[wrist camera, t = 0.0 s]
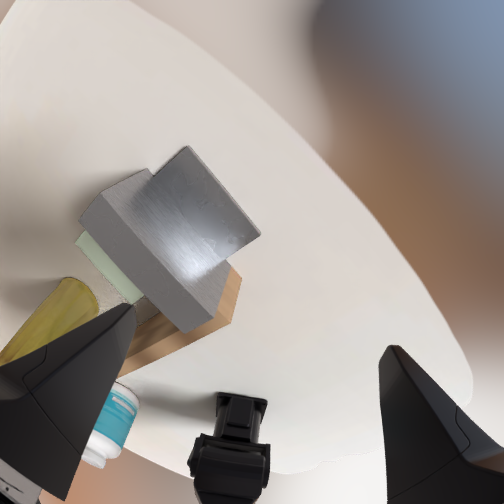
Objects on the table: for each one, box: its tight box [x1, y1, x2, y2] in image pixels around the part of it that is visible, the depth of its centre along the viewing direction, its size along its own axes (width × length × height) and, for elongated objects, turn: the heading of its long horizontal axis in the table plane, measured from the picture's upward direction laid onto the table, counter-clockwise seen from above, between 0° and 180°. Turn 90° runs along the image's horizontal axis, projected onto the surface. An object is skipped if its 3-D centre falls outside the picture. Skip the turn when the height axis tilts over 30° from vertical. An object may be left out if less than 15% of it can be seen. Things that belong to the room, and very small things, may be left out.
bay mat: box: [75, 230, 144, 305], centre depth 26 cm, size 9×9×1 cm
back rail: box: [116, 267, 242, 379], centre depth 26 cm, size 20×2×6 cm, turn 128°
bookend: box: [78, 146, 261, 334], centre depth 20 cm, size 7×11×7 cm, turn 38°
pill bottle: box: [81, 382, 140, 469], centre depth 32 cm, size 8×7×14 cm
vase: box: [0, 278, 99, 366], centre depth 23 cm, size 6×6×14 cm
